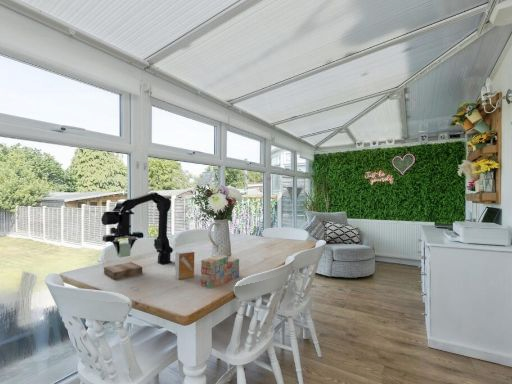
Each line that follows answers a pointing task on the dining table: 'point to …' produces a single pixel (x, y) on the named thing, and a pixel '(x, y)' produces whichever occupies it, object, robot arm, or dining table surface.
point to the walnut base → (122, 270)
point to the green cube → (124, 250)
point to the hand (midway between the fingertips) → (123, 252)
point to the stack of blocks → (218, 270)
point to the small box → (184, 264)
